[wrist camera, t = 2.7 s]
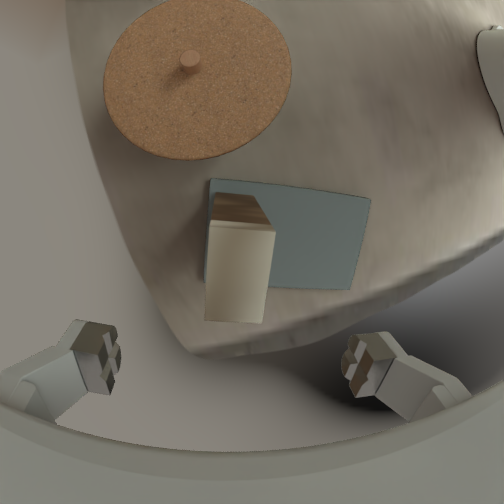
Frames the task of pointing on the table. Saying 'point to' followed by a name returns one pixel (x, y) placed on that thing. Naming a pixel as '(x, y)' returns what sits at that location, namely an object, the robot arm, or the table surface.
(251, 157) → the table surface
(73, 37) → the table surface
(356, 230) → the slate mat
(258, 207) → the brown and white block
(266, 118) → the lidded jar
